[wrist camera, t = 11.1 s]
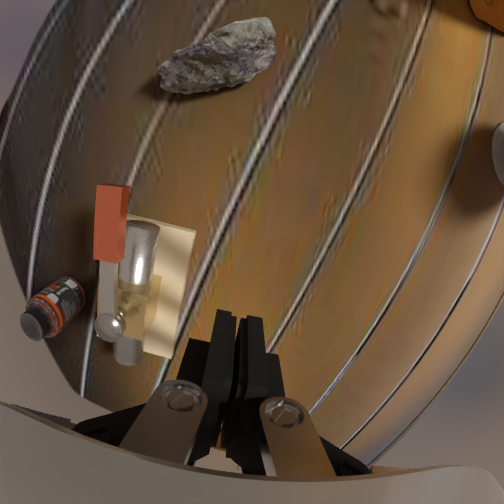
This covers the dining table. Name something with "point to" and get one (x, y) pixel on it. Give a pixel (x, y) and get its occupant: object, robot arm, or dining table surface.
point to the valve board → (168, 284)
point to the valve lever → (110, 255)
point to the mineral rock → (221, 58)
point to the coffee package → (489, 12)
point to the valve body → (136, 290)
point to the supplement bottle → (53, 308)
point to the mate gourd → (498, 151)
